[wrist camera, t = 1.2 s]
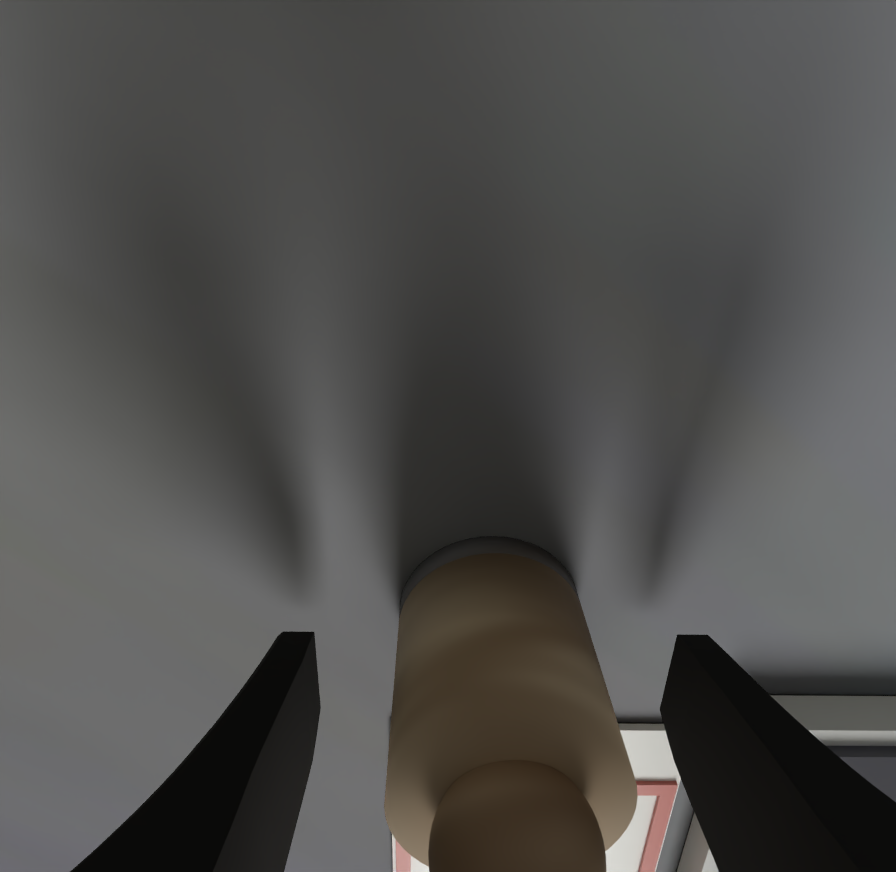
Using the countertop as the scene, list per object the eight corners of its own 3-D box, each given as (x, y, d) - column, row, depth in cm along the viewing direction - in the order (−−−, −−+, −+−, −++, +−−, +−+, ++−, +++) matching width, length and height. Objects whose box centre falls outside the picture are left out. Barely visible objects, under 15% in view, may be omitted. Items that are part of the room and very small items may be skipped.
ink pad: (1009, 697, 15) (1057, 742, 14) (891, 910, 19) (920, 960, 18) (729, 695, 15) (753, 741, 14) (664, 910, 19) (680, 961, 18)
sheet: (691, 723, 16) (695, 734, 15) (631, 947, 20) (633, 959, 20) (390, 722, 15) (389, 733, 15) (395, 948, 20) (394, 960, 19)
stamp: (587, 537, 13) (712, 860, 7) (567, 677, 15) (654, 1032, 9) (399, 535, 13) (367, 861, 7) (400, 675, 15) (376, 1035, 9)
